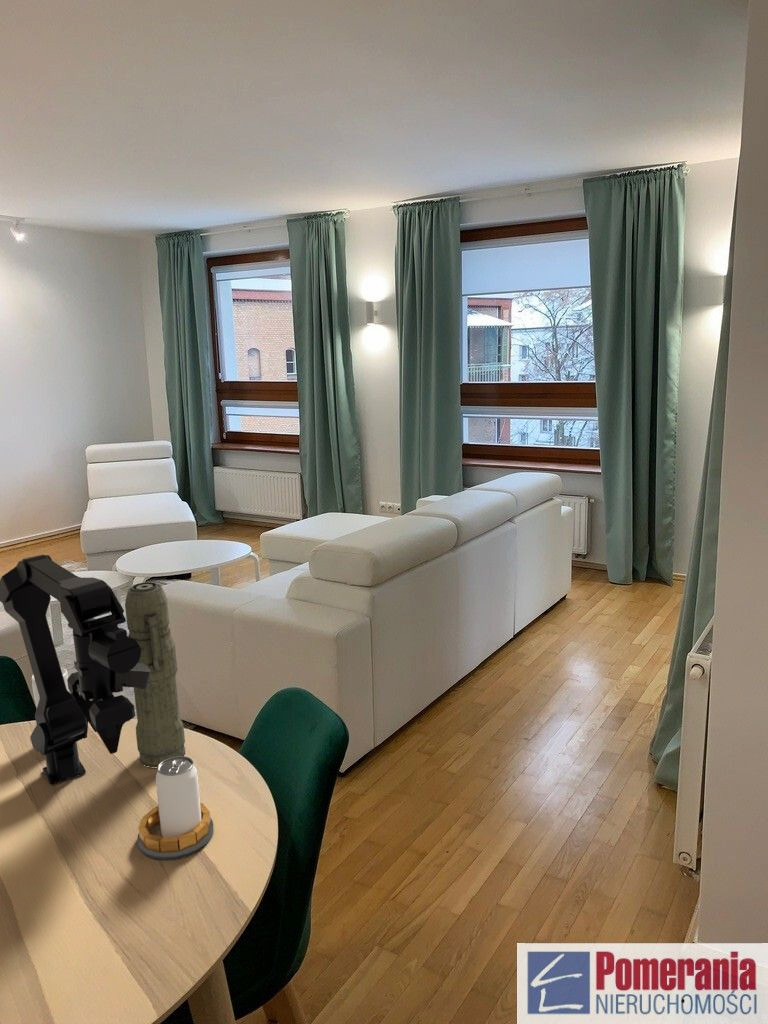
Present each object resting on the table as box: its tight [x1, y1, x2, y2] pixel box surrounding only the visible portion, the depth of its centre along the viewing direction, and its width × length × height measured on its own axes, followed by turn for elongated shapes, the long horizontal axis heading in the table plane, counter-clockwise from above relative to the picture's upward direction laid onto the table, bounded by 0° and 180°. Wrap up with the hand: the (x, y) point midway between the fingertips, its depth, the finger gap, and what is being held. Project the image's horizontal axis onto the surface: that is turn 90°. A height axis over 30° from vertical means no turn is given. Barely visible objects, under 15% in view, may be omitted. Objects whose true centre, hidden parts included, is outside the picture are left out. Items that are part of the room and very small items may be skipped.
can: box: [155, 755, 202, 838], centre depth 125 cm, size 6×6×12 cm
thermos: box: [124, 581, 186, 768], centre depth 148 cm, size 9×12×35 cm
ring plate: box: [137, 802, 214, 861], centre depth 127 cm, size 12×12×3 cm
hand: (105, 741), depth 132 cm, fingers open, 9 cm apart
